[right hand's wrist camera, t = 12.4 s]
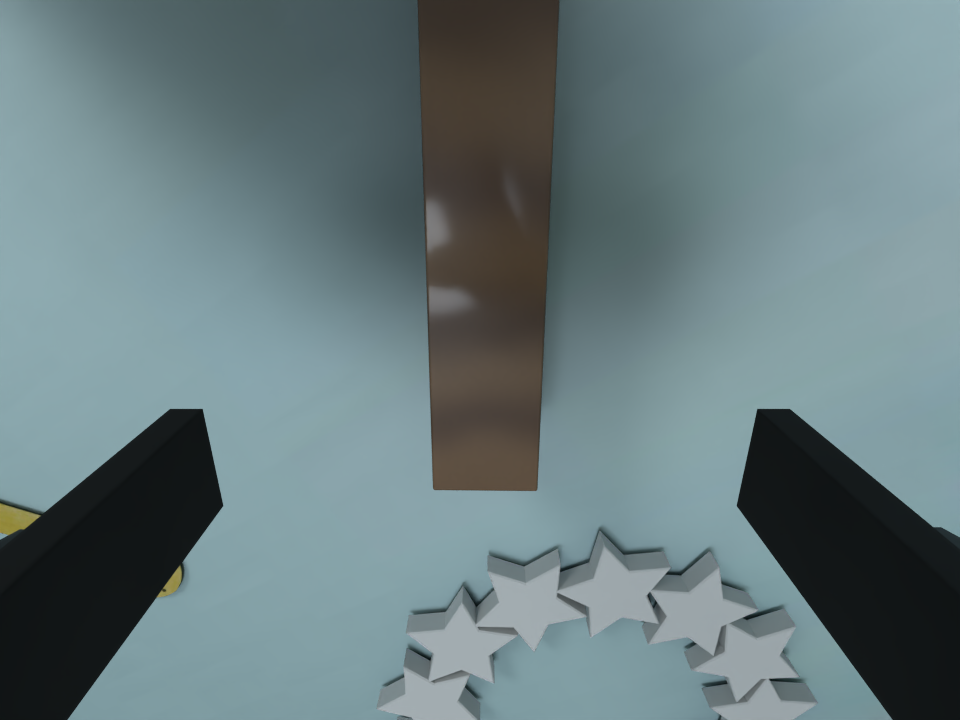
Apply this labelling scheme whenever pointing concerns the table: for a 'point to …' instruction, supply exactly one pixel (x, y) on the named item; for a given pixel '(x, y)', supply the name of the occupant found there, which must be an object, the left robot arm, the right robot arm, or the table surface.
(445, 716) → the decorative wreath
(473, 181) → the bar
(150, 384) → the table surface
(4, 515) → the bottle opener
